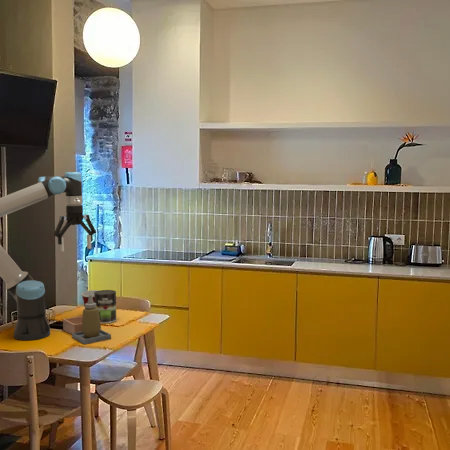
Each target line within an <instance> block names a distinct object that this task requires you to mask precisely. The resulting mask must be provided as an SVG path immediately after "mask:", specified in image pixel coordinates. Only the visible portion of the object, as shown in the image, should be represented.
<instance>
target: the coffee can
mask: <svg viewBox="0 0 450 450" xmlns="http://www.w3.org/2000/svg"><path fill="white" fill-rule="evenodd" d="M94 295H95V303H96V308H98V309H99V316H100V322H101V324H103V325H104V324H112V323H114V322H117V291H116V290H113V289H103V290H98V291H96V292H94Z"/></svg>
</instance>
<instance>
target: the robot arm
mask: <svg viewBox="0 0 450 450" xmlns="http://www.w3.org/2000/svg"><path fill="white" fill-rule="evenodd" d="M63 193H64V194H65V205H66V206H65V213H66V215H60V216H59V221H58V223H57V225H56V228H55V231H54V233H53V237H57V245H59V252H61V253H62V252H65V243H64V242H65V241H64V237H63V236H64V235H65V233H66V232H67V230H68V229H69V228H70V226H75V225H77V226H78V225H79V226H81V228H83V230H84V231H85V232H86V233H87V234H86V245H87V247H86V248H87V249H89V250H90V249H91V250H92V242H94V240H93V237H94V235H95V234H97V231H96V228H95V227H94V225H93V222H92V221H91V217H90V215H89V214H83V213H84V211H83V180H82V173H81V172H79V171H74V172H72V171H69V172H68V171H66V172H65V173H64V176H58V175H57V176H39V177H38V179H37V183H35V184H32V185H29V186H28V187H25V188H22V189H20V190H17V191H15V192H11V193H9V194H7V195H5V196H1V197H0V218H2V217H5V216H7V215H10V214H12V213H14V212H17V211H19V210H22V209H25V208H27V207H29V206H32V205H34V204H37V203H39V202H41V201H44V200H46V199H49V198H52V197H54V196H57V195H61V194H63ZM83 220H85V222H86V223H85V222H84V221H83ZM65 221H66V222H65ZM64 223H65V224H64ZM63 225H64V226H63ZM87 225H88V226H87ZM0 278H1V279H2V280H3V281H4V283H5V289H6V291H8V293H9V294H10V295H11V296H12V297H13V299H14V300H15V302H16V312H17V313H16V314H17V320H16V324H15V327H14V331H13V337H14V339H15V340H19V341H35V340H40V339H44V338H47V337H49V336H50V335H51V327H50V324H49V322H48V320H47V316H46V297H45V296H46V294H45V293H46V289H45V285H44V283H43V282H42V281H40V280H39V281H38V280H34V278H33V277H32V276H31V274H29V272H28V271H22V269H21V268H20V267H19V265H18V264H17V263H16V262H15V260H14V259H12V257H11V256H10V254H8V252H7V251H6V250H5V248H4V247H3V246H2V245H1V244H0Z"/></svg>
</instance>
